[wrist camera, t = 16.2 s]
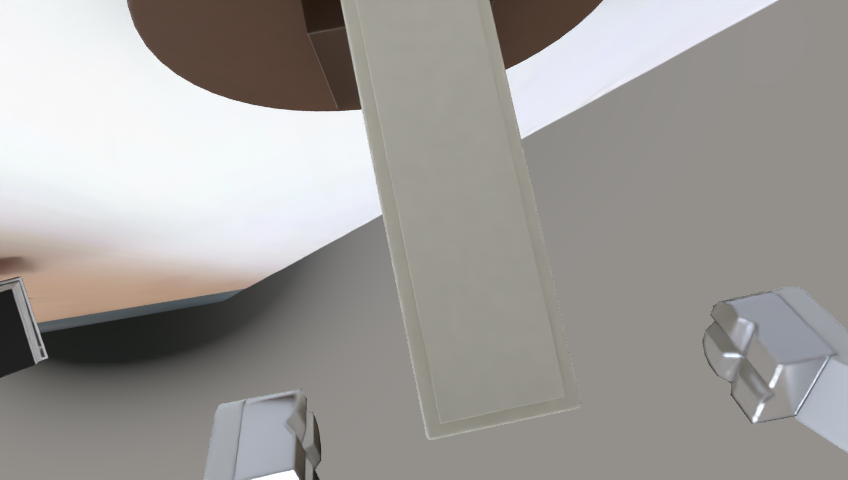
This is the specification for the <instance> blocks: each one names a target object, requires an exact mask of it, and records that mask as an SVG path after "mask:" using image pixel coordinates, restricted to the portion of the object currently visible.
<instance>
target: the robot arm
mask: <svg viewBox="0 0 848 480" xmlns="http://www.w3.org/2000/svg"><path fill="white" fill-rule="evenodd" d="M710 315H711V316H712V318H713V319H714V320H715V321H714V322H713V323H712V324H711V325H710V326H709V327H708V328H707V329H706V330H705V333H704V338H703V347H704V353H705V356H706V359H707V361H708V363H709V365H710V366H711V368H712V369H713V371H714V372H715V374H716V375H717V376H719V377H721V378H722V379H724V380H726V381H728V382H730V383H731V396H732V397H733V399H734V400H735V401H736V403H737V404H738V405H739V407H740V408H741V409H742V411H743V412H744V414H745V415H746V416H747V418H748V419H749V420H750V422H751V423H752V424H756V423H761V422H767V421H772V420H777V419H783V418H788V417H793V416H796V419H797V420H798V421H800V422H802V423H803V424H805V425H806V426H808V427H809V428H811V429H812V430H814V431H815V432H817V433H818V434H820V435H821V436H823V437H824V438H826V439H828V440H829V441H831V442H832V443H834V444H835V445H837V446H838V447H840V448H841V449H843V450H844V451H846V452H847V453H848V331H847V330H846V329H845V328H844V327H843V326H842V325H840V324H839V323H838V322H837V321H836V320H835V319H834V318H833V317H832V316H831V315H830V314H829V313H828V312H827V311H826V310H825V309H824V308H823V307H822V306H821V305H819V304H818V303H817V302H816V301H815V300H814V299H813V298H812V297H811V296H810V295H809V294H808V293H807V292H806V291H805V290H803V289H802V288H799V287H797V286H790V287H785V288H780V289H776V290H771V291H763V292H758V293H754V294H750V295H745V296H741V297H736V298H732V299H727V300H723V301H719V302H718V303H717V304H715V305H714V306H713V309H712V311H711V314H710ZM320 461H321V443H320V435H319V429H318V425H317V422H316V419H315V416H314V414H313V412H311V411H309V410H307V399H306V397H305V395H304V393H303V391H302V389H299V390H294V391H288V392H283V393H277V394H272V395H267V396H261V397H256V398H250V399H245V400H239V401H234V402H230V403H225V404H220V405H219V407H218V409H217V411H216V413H215V417H214V422H213V427H212V433H211V439H210V444H209V450H208V455H207V461H206V467H205V472H204V478H203V480H319V478H318V476H317V474H316V471H315V469H316V468H317V466H318V464H319V463H320Z"/></svg>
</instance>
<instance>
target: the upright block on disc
mask: <svg viewBox="0 0 848 480" xmlns="http://www.w3.org/2000/svg"><path fill="white" fill-rule="evenodd" d="M602 1H603V0H127V3H128V8H129V11H130V14H131V17H132V20H133V23H134V26H135V28H136V29H137V31H138V33H139V35H140V36H141V38H142V40H143V41H144V43H145V44H146V46H147V47H148V48H149V49H150V50H151V52H152V53H153V54H154V55H155V56H156V57H157V58H158V59H159V60H160V61H161V62H162V63H163V64H164V65H166V66H167V67H168V68H169V69H171V70H172V71H173V72H174V73H176V74H177V75H179V76H180V77H182V78H184V79H186V80H187V81H189V82H191V83H192V84H194V85H196V86H198V87H201V88H203V89H205V90H207V91H210V92H212V93H214V94H217V95H220V96H223V97H226V98H229V99H232V100H236V101H240V102H244V103H248V104H252V105H258V106H264V107H270V108H277V109H286V110H298V111H346V110H360V109H362V113H363V118H364V123H365V128H366V133H367V138H368V143H369V148H370V153H371V158H372V163H373V168H374V173H375V179H376V184H377V189H378V194H379V199H380V204H381V209H382V214H383V219H384V224H385V229H386V234H387V239H388V244H389V249H390V255H391V260H392V264H393V270H394V275H395V280H396V285H397V290H398V295H399V300H400V305H401V310H402V315H403V320H404V325H405V331H406V336H407V341H408V346H409V351H410V356H411V361H412V366H413V371H414V376H415V381H416V387H417V392H418V396H419V402H420V407H421V412H422V417H423V422H424V427H425V432H426V436H427V438H428V439H429V440H433V439H437V438H442V437H447V436H451V435H456V434H461V433H466V432H470V431H475V430H479V429H484V428H489V427H494V426H498V425H503V424H507V423H512V422H517V421H521V420H526V419H531V418H535V417H539V416H544V415H549V414H554V413H559V412H563V411H568V410H572V409H577V408H579V407H581V400H580V396H579V392H578V387H577V383H576V379H575V374H574V370H573V365H572V361H571V356H570V352H569V348H568V343H567V339H566V335H565V330H564V326H563V321H562V317H561V312H560V308H559V304H558V299H557V295H556V291H555V286H554V282H553V277H552V273H551V269H550V264H549V260H548V255H547V251H546V247H545V242H544V238H543V234H542V229H541V225H540V220H539V216H538V211H537V207H536V203H535V198H534V194H533V190H532V185H531V181H530V176H529V172H528V168H527V163H526V159H525V155H524V150H523V146H522V141H521V137H520V132H519V128H518V124H517V119H516V115H515V110H514V106H513V102H512V97H511V93H510V88H509V84H508V80H507V75H506V71H505V70H506V69H508V68H510V67H512V66H514V65H516V64H518V63H520V62H522V61H524V60H526V59H528V58H529V57H531V56H533V55H535V54H536V53H538V52H540V51H542V50H543V49H545V48H546V47H548V46H549V45H551V44H552V43H554V42H555V41H557V40H558V39H560V38H561V37H562V36H564V35H565V34H566V33H568V32H569V31H570V30H572V29H573V28H574V27H575V26H577V25H578V24H579V23H580V22H581V21H582V20H583V19H585V18H586V17H587V16H588V15H589V14H590V13H591V12H592V11H593V10H594V9H595V8H596V7H597V6H598V5H599V4H600V3H601V2H602Z"/></svg>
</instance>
